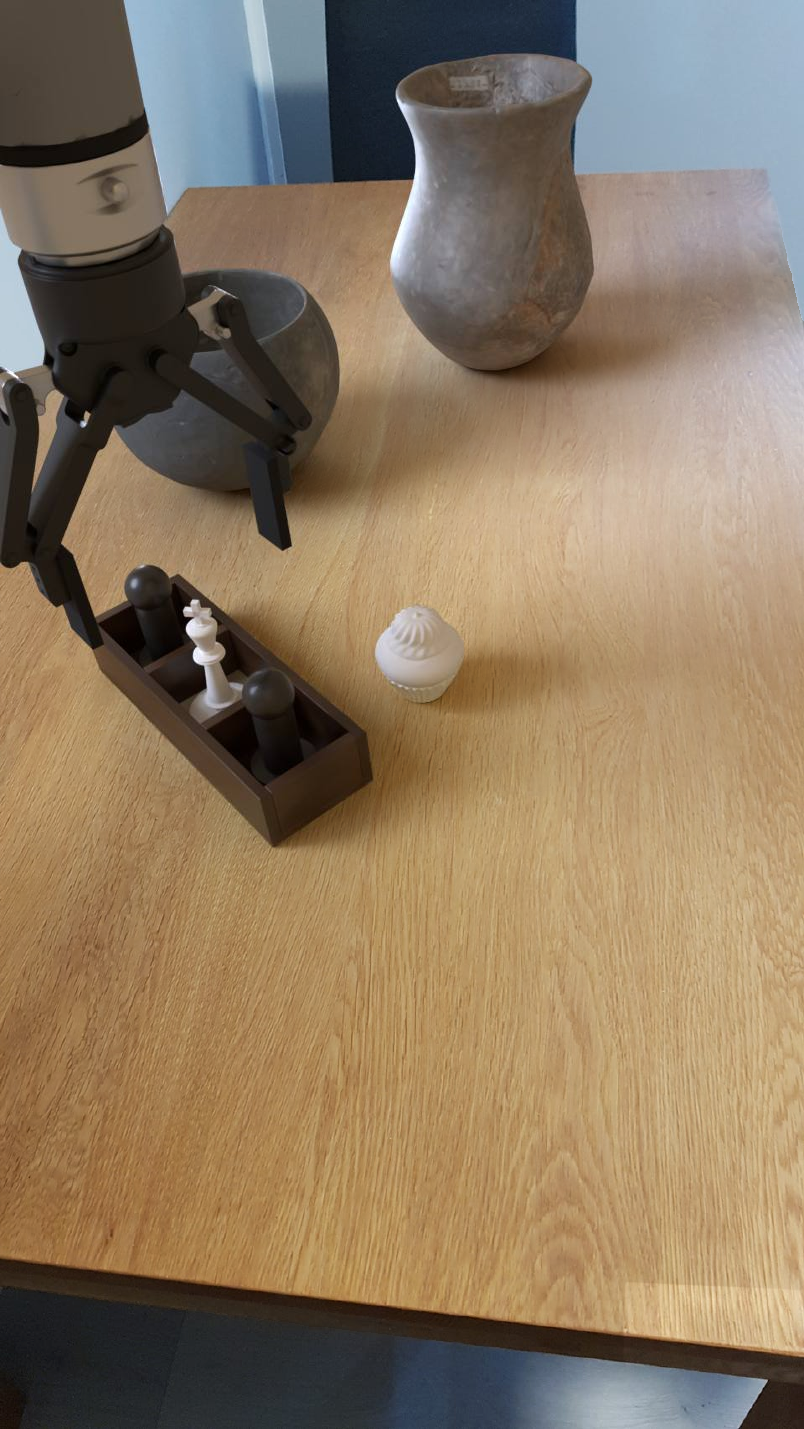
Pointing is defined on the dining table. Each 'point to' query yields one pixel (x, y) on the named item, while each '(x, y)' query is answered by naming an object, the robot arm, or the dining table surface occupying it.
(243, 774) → the rack
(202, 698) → the chess piece
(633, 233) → the dining table surface
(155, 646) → the ebony piece
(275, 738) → the ebony piece
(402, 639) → the muffin
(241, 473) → the bowl
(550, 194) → the vase
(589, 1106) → the dining table surface
